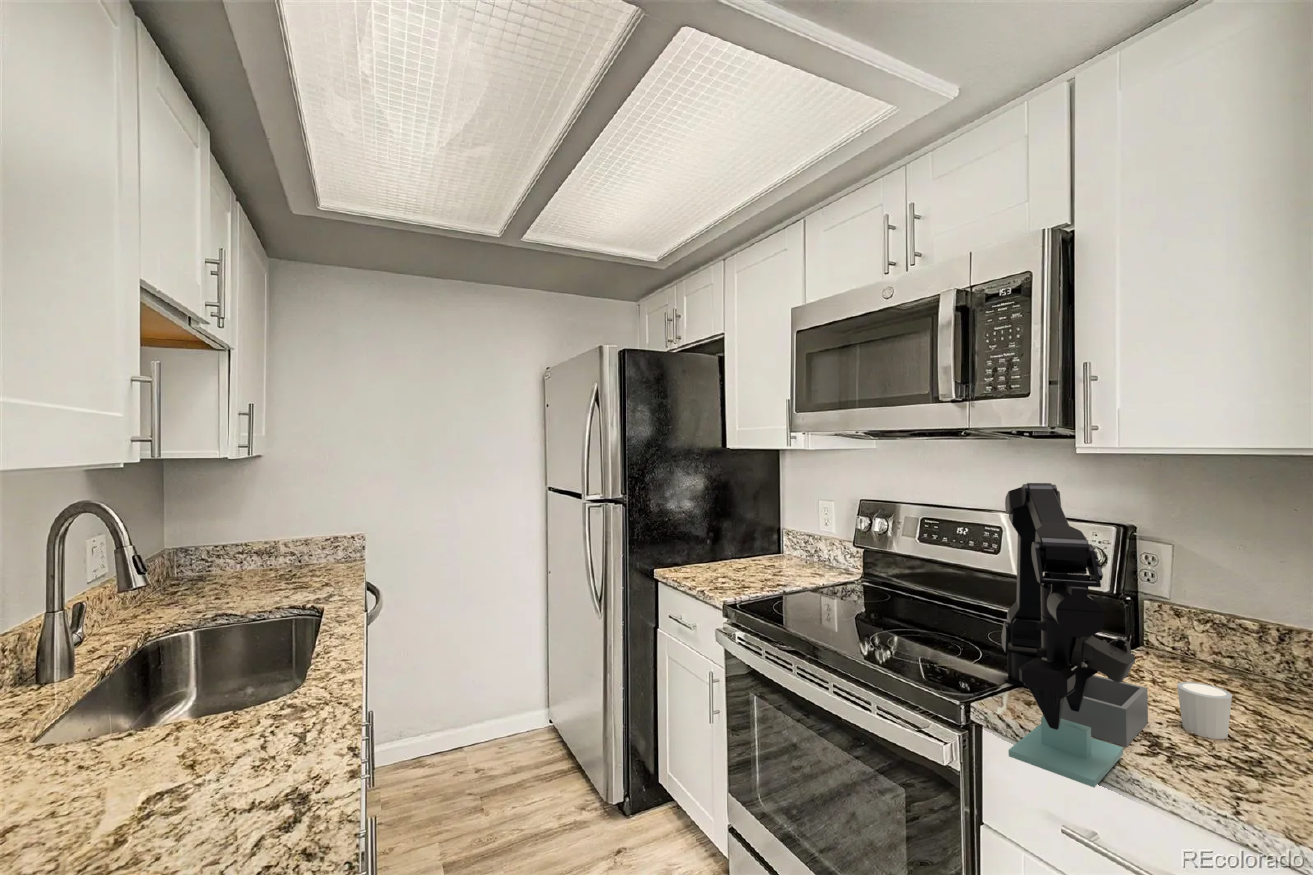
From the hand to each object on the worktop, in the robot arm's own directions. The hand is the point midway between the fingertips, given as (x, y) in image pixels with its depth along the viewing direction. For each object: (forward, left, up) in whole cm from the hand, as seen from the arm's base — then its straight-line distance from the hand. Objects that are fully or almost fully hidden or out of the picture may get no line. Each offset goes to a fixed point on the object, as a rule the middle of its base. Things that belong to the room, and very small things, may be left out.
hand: (1064, 719), depth 93 cm
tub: (0, +18, -6) cm, 19 cm away
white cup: (+12, +28, -6) cm, 31 cm away
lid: (0, 0, -6) cm, 7 cm away
